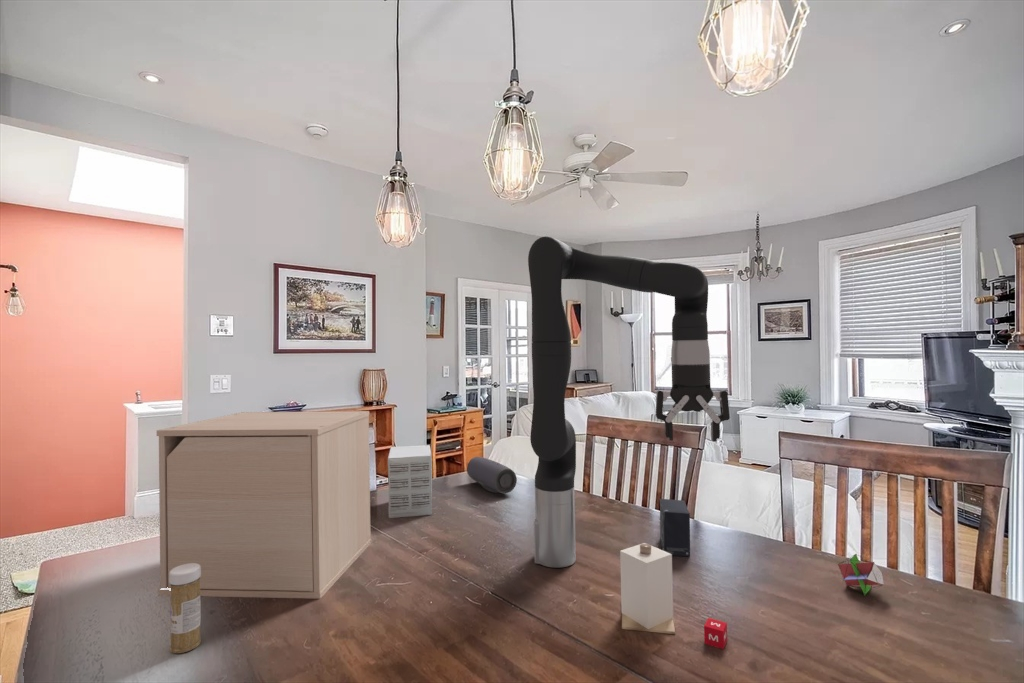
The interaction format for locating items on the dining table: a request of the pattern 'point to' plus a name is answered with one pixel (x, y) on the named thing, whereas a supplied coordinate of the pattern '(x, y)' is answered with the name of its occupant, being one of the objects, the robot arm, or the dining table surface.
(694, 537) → the dining table surface
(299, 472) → the cabinet
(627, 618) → the coaster
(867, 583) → the geometric puzzle
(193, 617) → the sprinkles bottle
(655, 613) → the white knobbed pillar
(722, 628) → the dice
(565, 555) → the robot arm
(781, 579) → the dining table surface
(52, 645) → the dining table surface
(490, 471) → the bluetooth speaker
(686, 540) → the small box
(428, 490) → the supplement box
